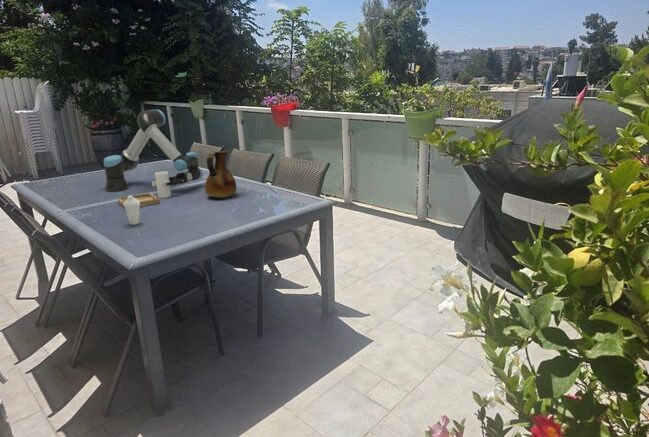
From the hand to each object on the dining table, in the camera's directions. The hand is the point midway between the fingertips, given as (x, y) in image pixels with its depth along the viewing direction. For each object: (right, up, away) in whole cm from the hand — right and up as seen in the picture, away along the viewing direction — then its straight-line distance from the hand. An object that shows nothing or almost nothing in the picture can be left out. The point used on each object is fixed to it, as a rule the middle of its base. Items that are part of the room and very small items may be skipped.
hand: (157, 184), depth 294 cm
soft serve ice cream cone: (+6, -25, -48) cm, 54 cm away
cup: (+3, -7, +7) cm, 10 cm away
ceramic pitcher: (+41, -8, +2) cm, 42 cm away
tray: (-9, -12, -8) cm, 17 cm away
